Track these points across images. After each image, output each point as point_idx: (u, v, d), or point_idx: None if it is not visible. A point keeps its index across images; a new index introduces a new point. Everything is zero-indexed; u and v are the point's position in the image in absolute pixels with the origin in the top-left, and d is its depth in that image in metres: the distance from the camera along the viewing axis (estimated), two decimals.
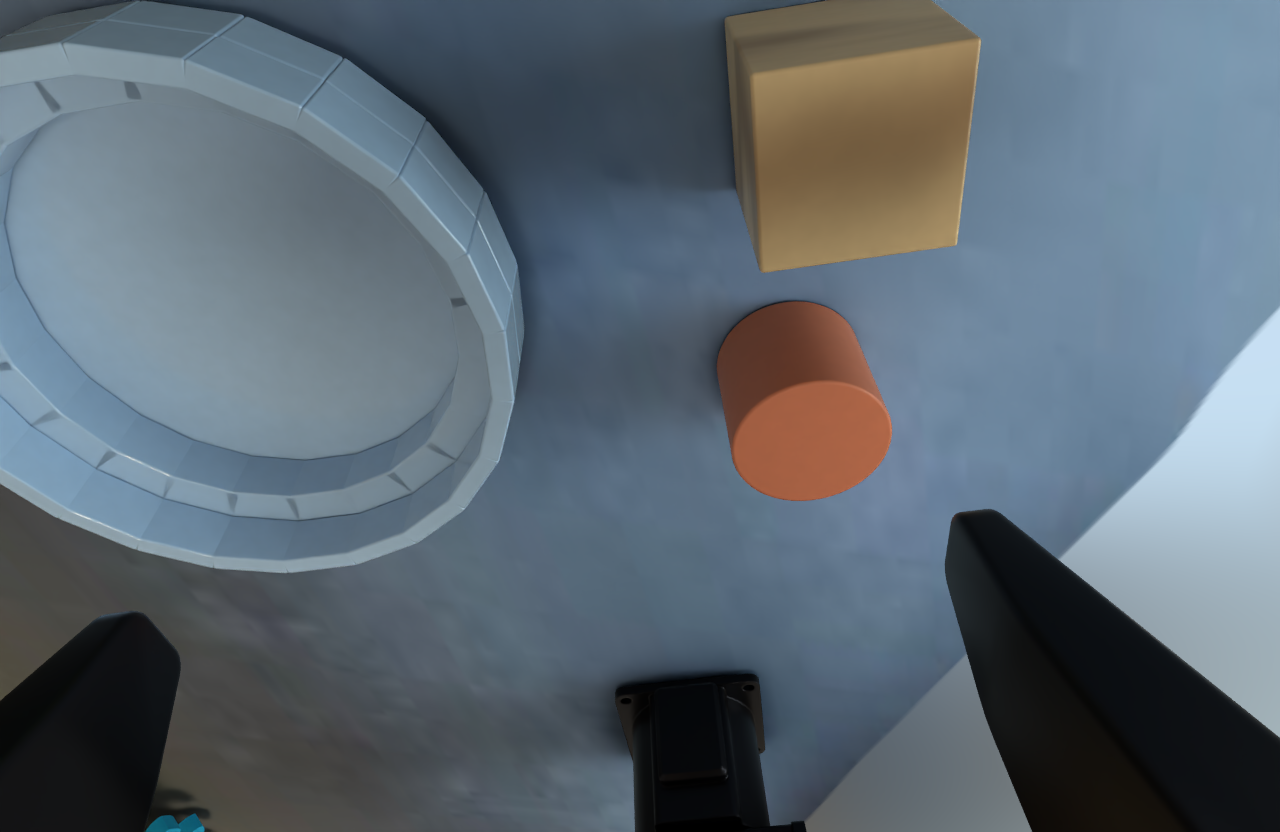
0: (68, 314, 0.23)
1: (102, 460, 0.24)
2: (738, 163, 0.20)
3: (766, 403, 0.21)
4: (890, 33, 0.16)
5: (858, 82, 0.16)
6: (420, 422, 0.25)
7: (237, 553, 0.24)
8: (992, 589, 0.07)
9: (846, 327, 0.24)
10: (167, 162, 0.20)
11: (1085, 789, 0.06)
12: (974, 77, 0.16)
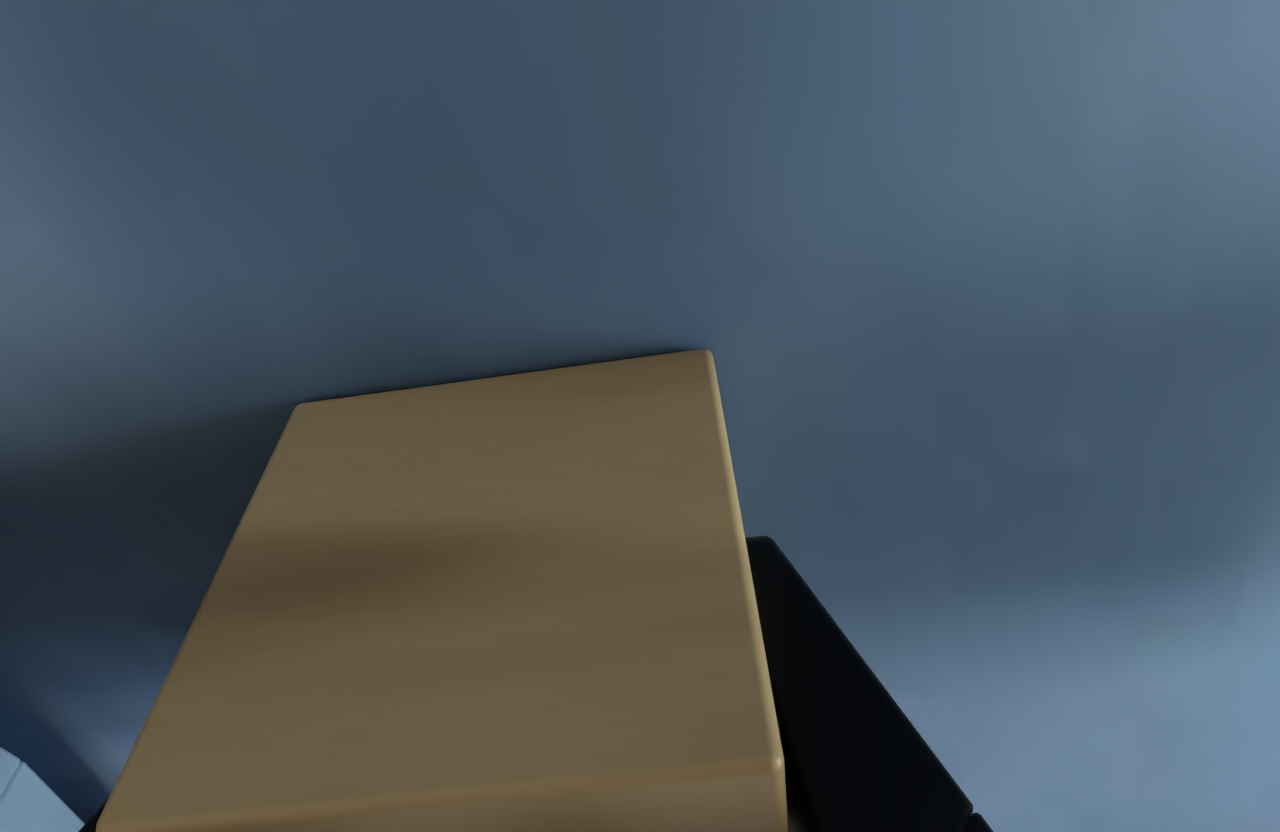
0: None
1: None
2: None
3: None
4: (558, 629, 0.06)
5: None
6: None
7: None
8: None
9: None
10: None
11: (795, 817, 0.07)
12: (777, 819, 0.05)
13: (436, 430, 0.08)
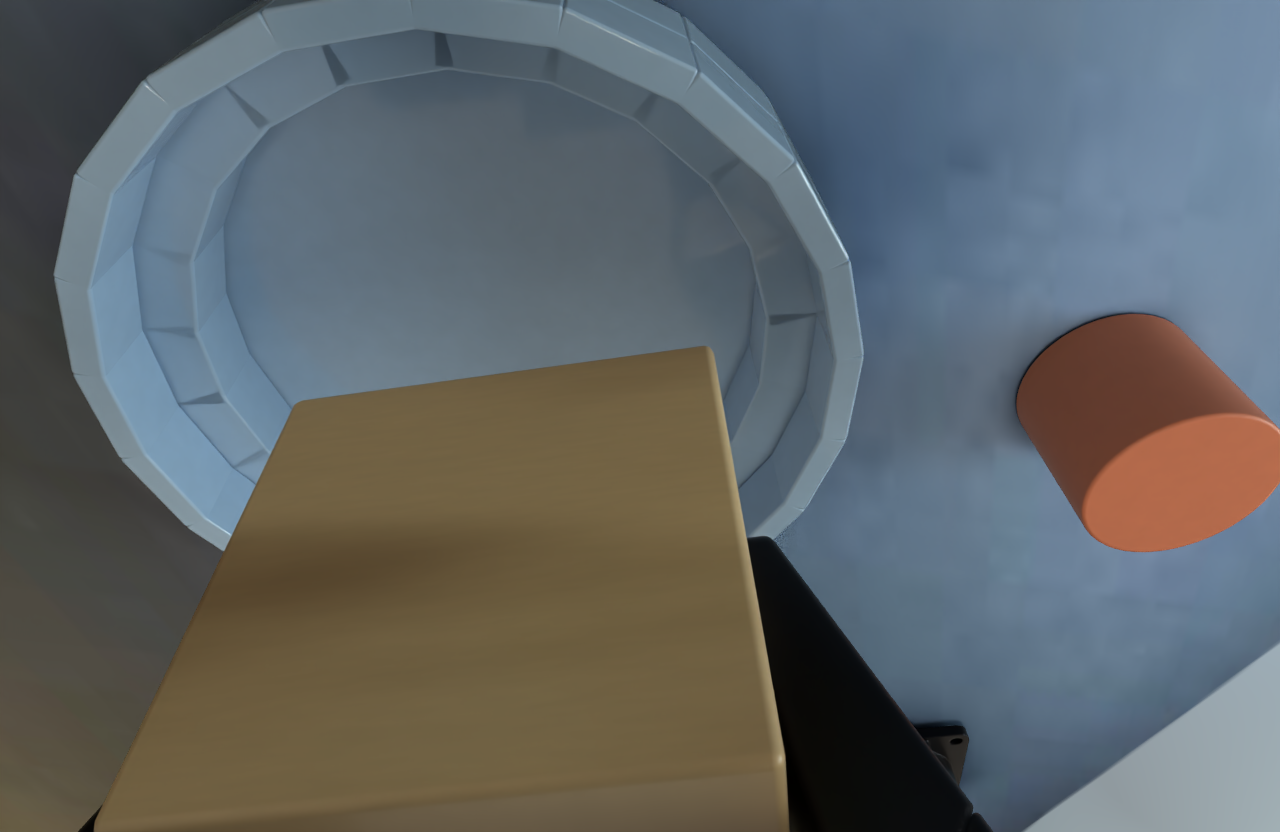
0: (280, 334, 0.19)
1: None
2: None
3: (1150, 440, 0.17)
4: (559, 627, 0.06)
5: None
6: None
7: None
8: None
9: (1195, 344, 0.20)
10: (435, 150, 0.16)
11: (796, 817, 0.07)
12: (778, 816, 0.05)
13: (436, 427, 0.08)
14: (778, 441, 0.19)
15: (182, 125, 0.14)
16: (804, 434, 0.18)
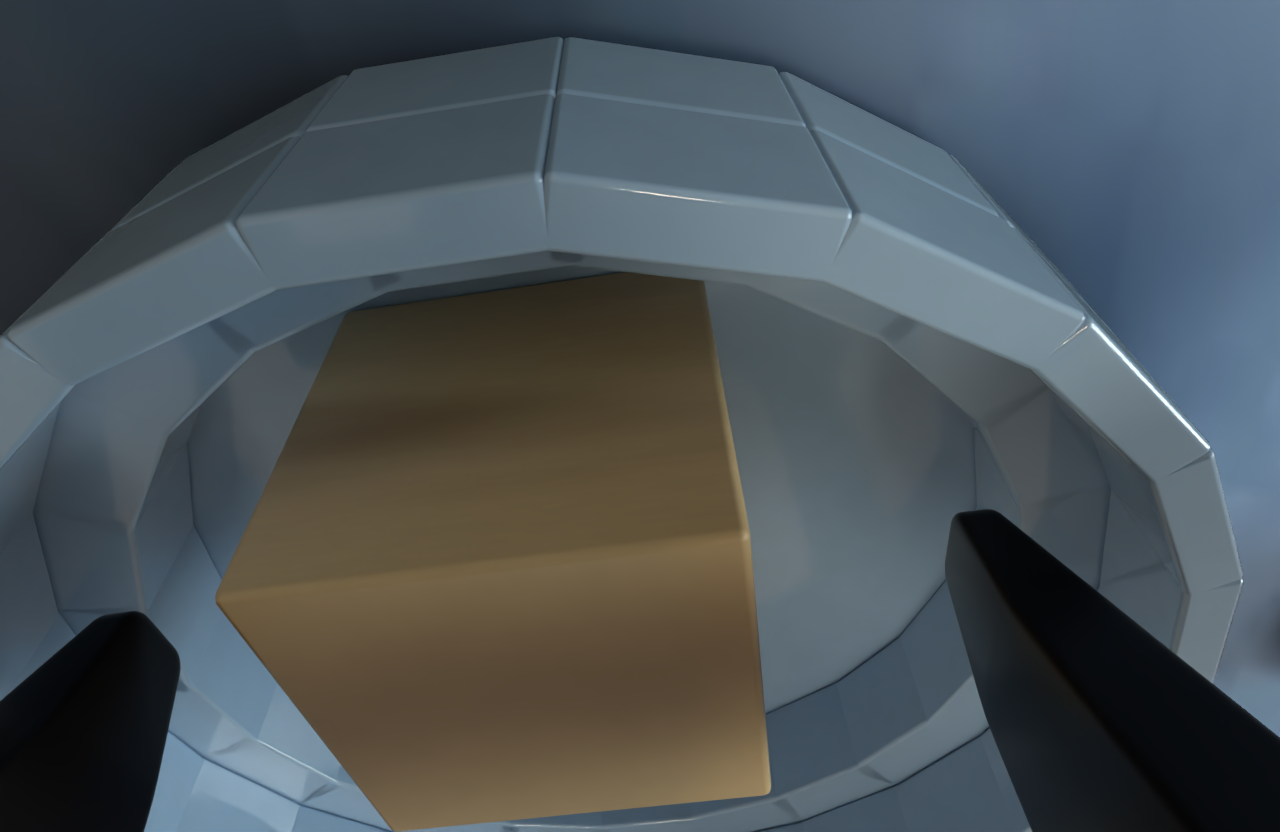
0: None
1: (313, 794, 0.14)
2: None
3: None
4: (574, 457, 0.07)
5: (475, 607, 0.07)
6: (810, 703, 0.16)
7: None
8: (992, 589, 0.07)
9: None
10: None
11: (1085, 789, 0.06)
12: (746, 592, 0.07)
13: (468, 326, 0.09)
14: None
15: None
16: None
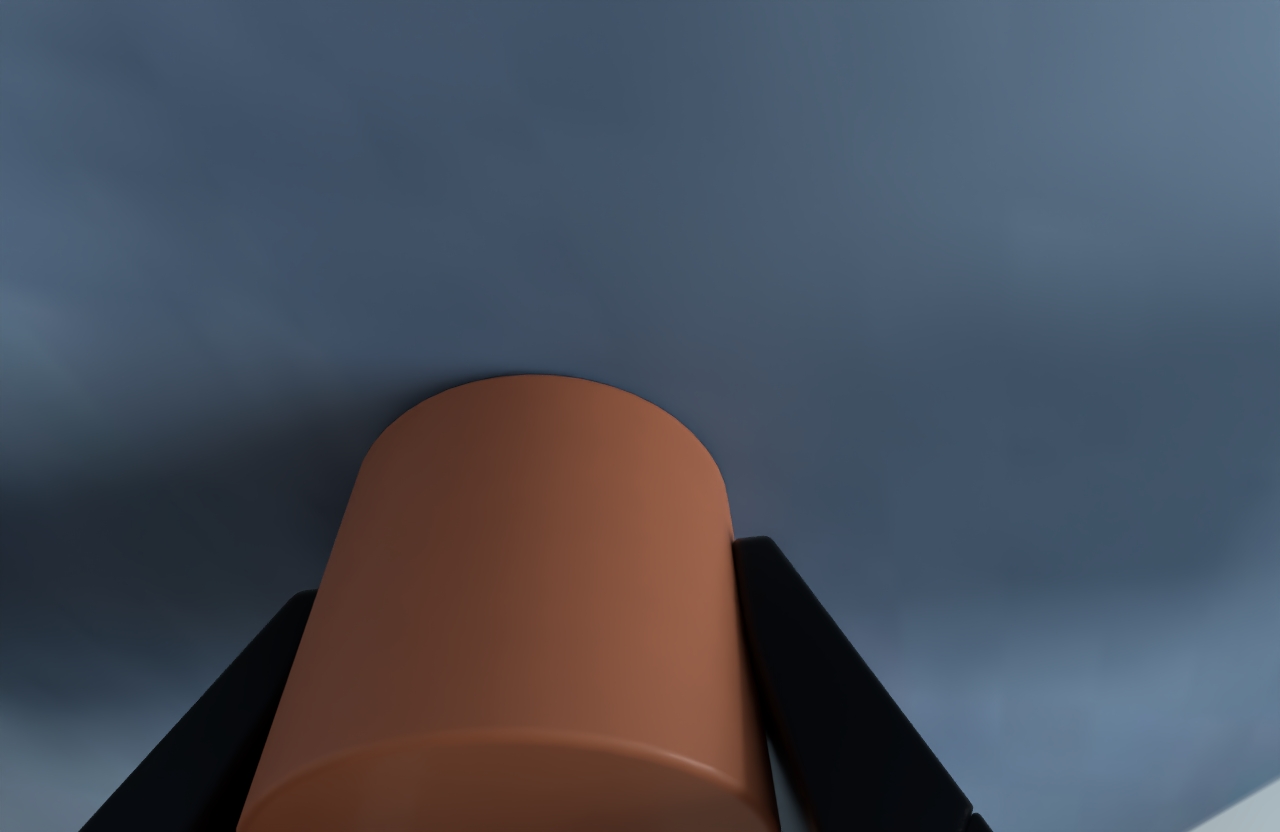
0: None
1: None
2: None
3: (291, 792, 0.06)
4: None
5: None
6: None
7: None
8: None
9: (672, 450, 0.08)
10: None
11: (795, 817, 0.07)
12: None
13: None
14: None
15: None
16: None
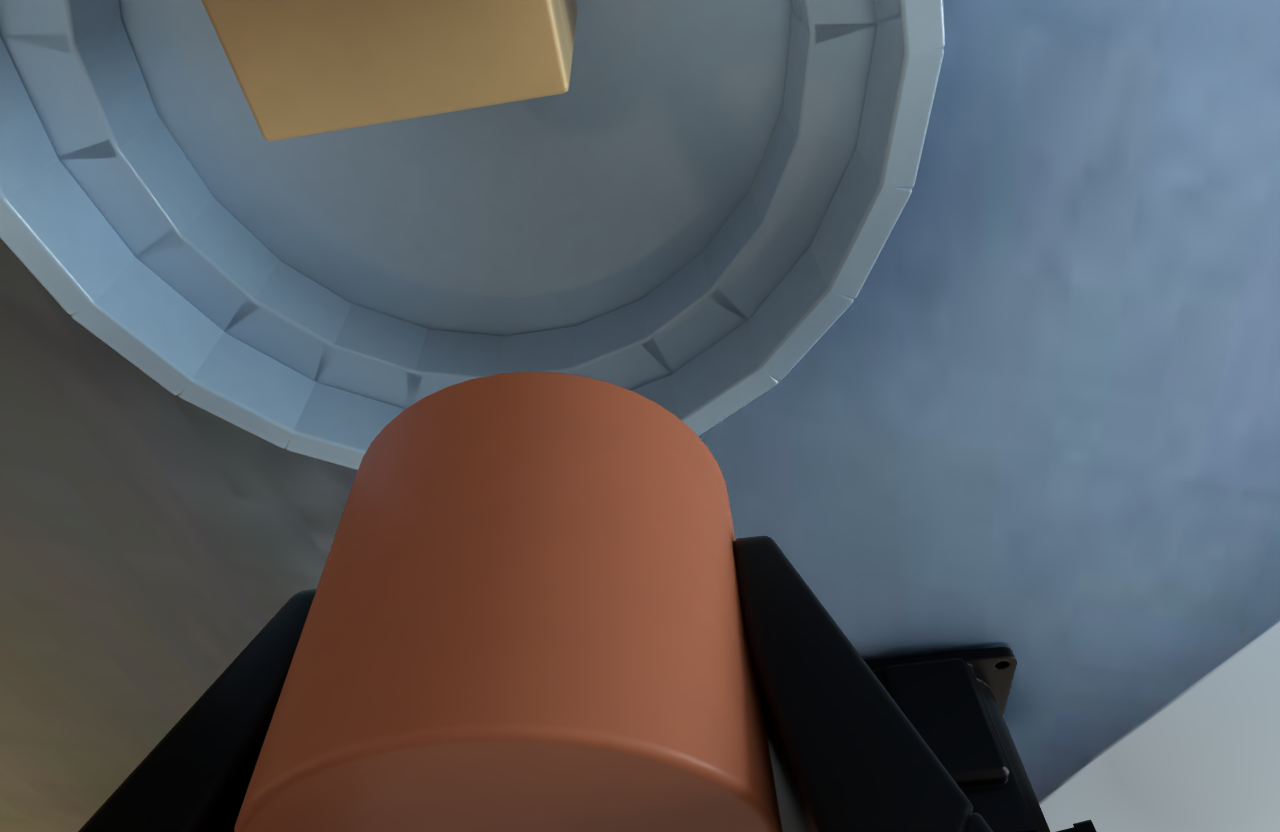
0: (194, 86, 0.15)
1: (235, 318, 0.16)
2: None
3: (289, 791, 0.06)
4: None
5: None
6: (679, 273, 0.18)
7: None
8: None
9: (673, 448, 0.08)
10: None
11: (795, 817, 0.07)
12: None
13: None
14: (819, 225, 0.15)
15: None
16: (856, 194, 0.14)
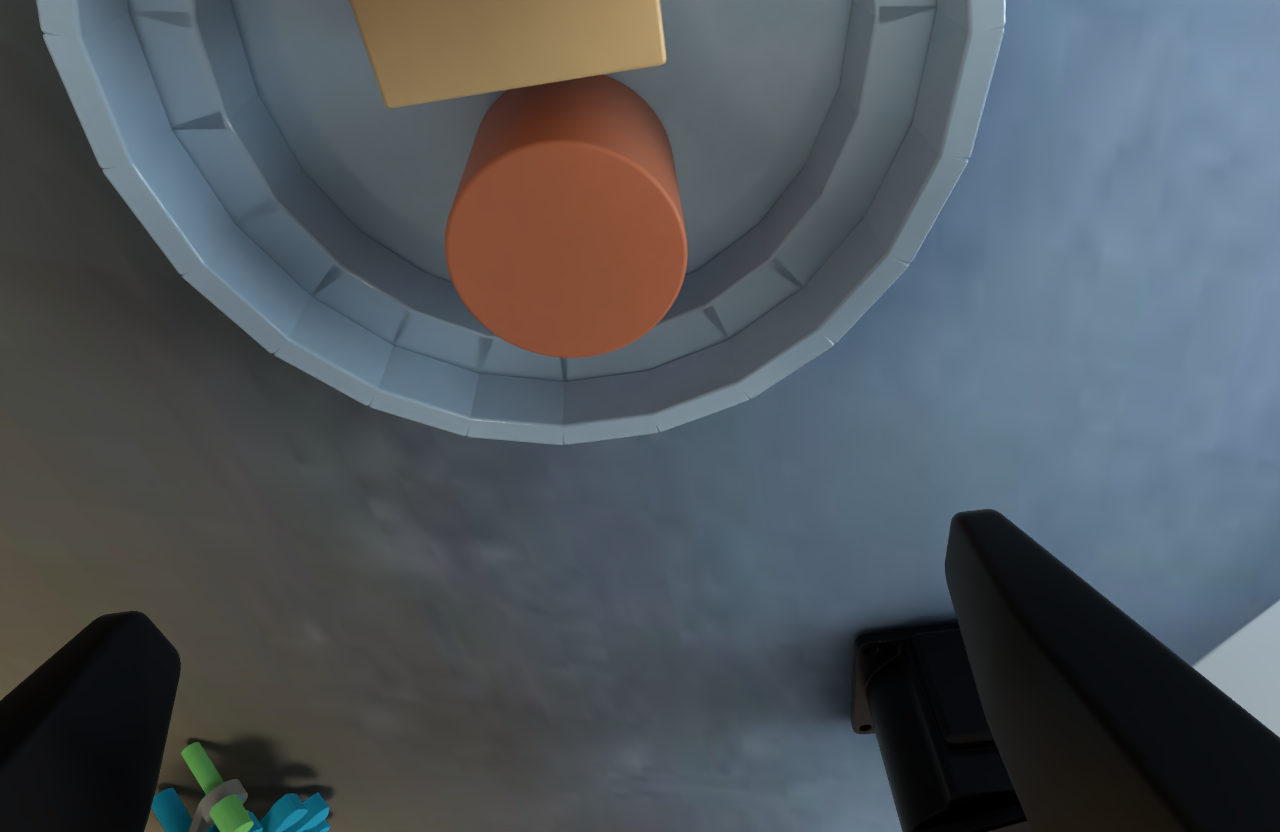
0: (292, 63, 0.16)
1: (323, 282, 0.17)
2: None
3: (478, 180, 0.14)
4: None
5: None
6: (735, 244, 0.19)
7: (500, 415, 0.18)
8: (992, 589, 0.07)
9: (641, 105, 0.16)
10: None
11: (1085, 789, 0.06)
12: None
13: None
14: (874, 197, 0.16)
15: None
16: (914, 165, 0.15)
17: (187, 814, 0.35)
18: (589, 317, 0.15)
